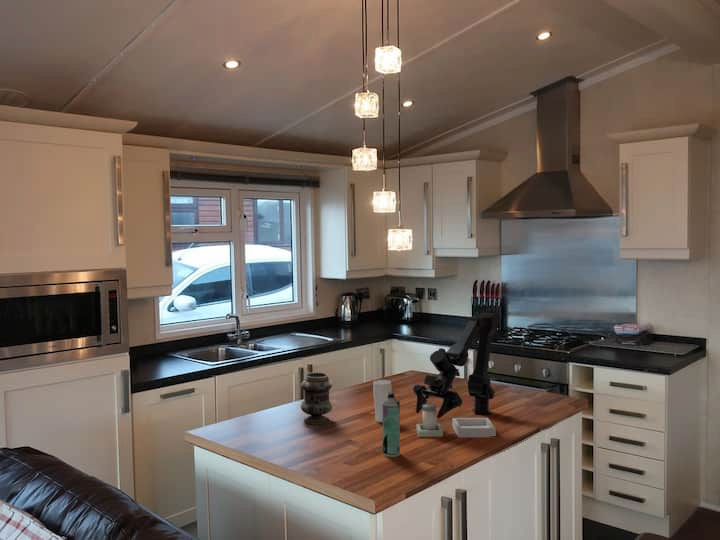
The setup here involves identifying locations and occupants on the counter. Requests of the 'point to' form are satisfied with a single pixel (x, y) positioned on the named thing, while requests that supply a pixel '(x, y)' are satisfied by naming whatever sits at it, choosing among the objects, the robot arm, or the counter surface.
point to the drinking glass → (380, 397)
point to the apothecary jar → (316, 397)
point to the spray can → (391, 426)
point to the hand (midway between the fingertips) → (427, 415)
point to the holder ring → (429, 431)
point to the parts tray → (473, 427)
